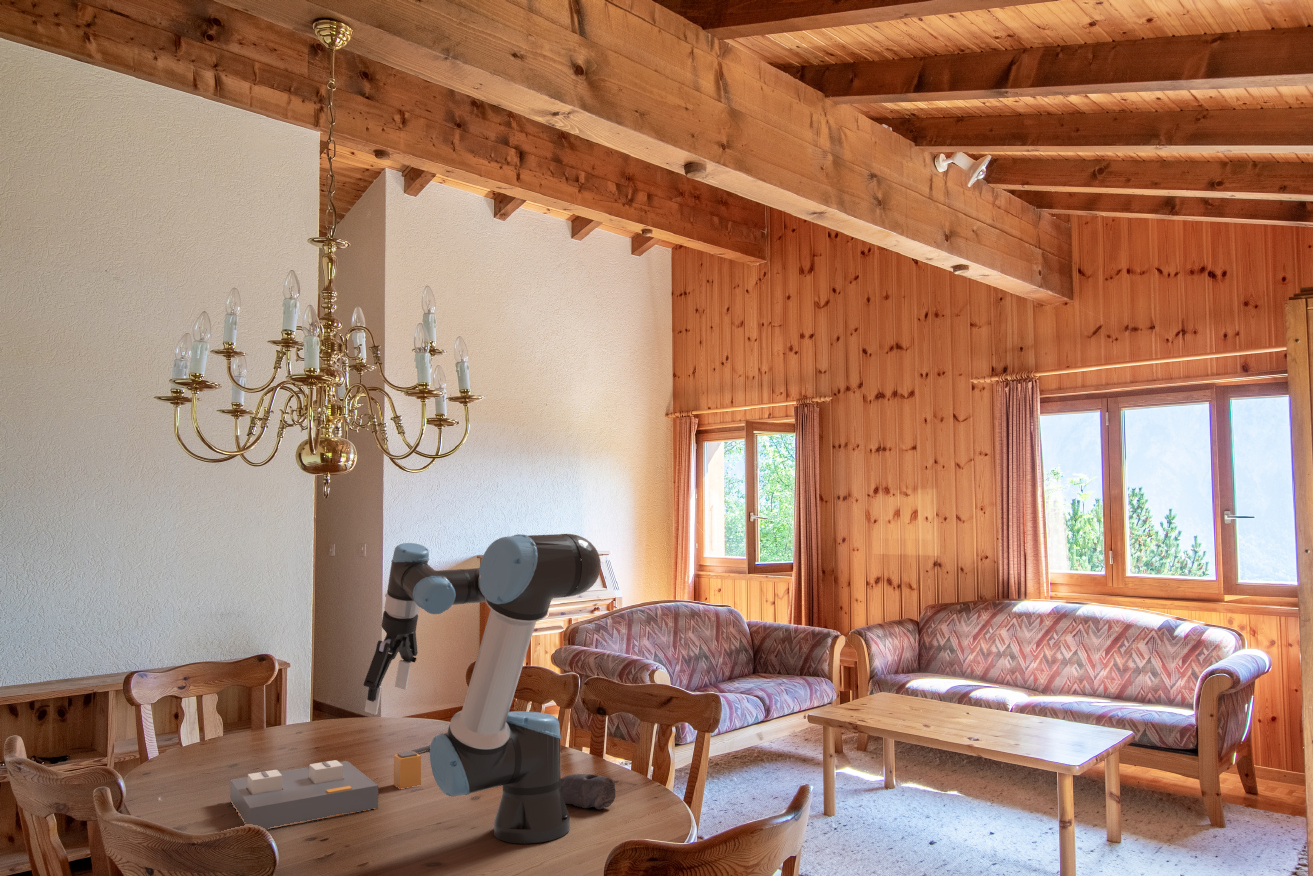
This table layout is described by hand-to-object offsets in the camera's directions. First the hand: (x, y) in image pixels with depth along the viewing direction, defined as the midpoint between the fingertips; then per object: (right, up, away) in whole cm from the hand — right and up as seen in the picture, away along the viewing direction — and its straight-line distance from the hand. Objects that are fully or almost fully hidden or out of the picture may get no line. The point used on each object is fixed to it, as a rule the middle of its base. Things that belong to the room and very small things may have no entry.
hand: (386, 699), depth 204 cm
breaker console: (-18, -23, -2) cm, 30 cm away
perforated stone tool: (+45, -22, -7) cm, 50 cm away
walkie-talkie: (+3, -28, +46) cm, 54 cm away
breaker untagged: (-25, -20, -6) cm, 32 cm away
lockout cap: (+1, -24, +12) cm, 27 cm away
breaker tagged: (-14, -20, +1) cm, 25 cm away
